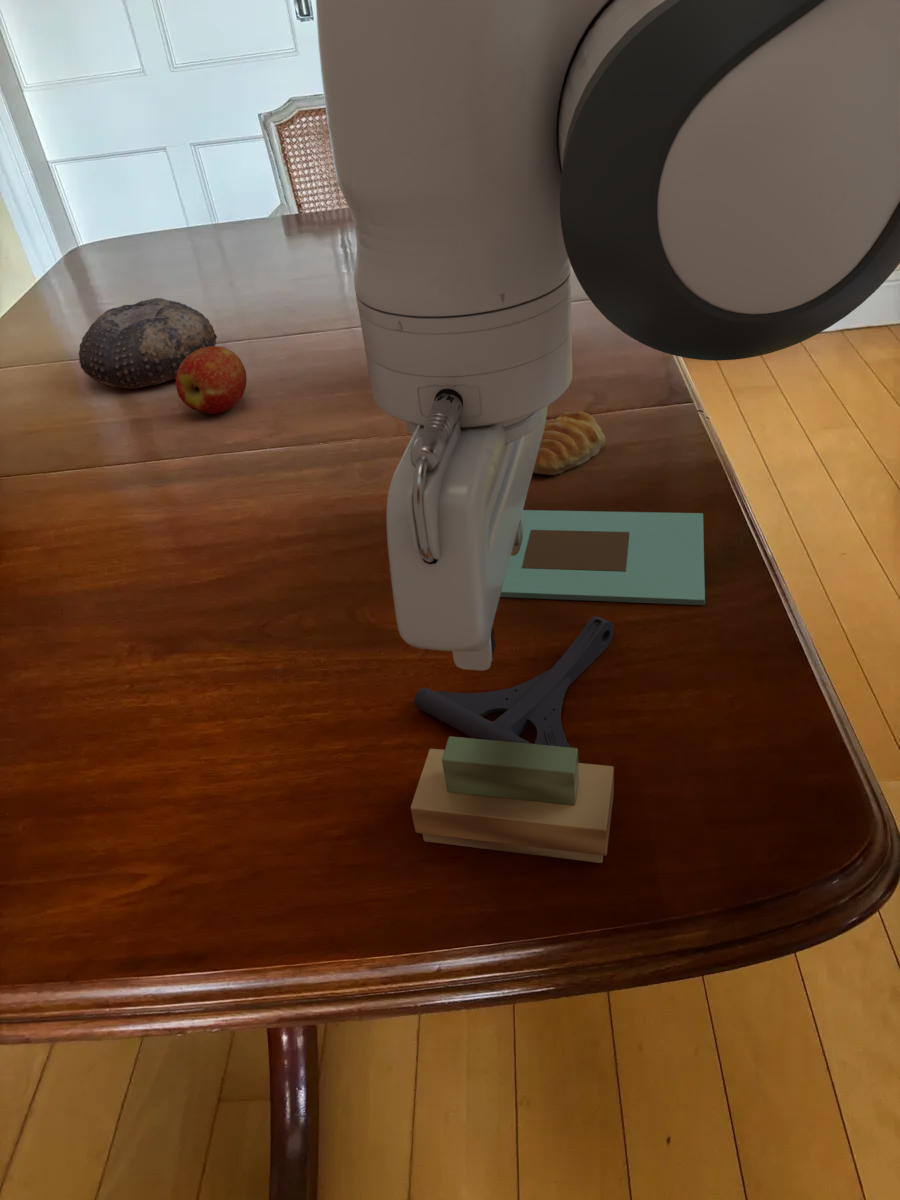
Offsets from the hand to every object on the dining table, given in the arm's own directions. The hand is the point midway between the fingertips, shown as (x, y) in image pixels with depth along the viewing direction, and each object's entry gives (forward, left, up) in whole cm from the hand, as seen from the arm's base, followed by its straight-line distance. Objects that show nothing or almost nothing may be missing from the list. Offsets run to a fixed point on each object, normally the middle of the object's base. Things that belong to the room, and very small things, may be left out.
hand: (492, 600), depth 47 cm
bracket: (-1, -12, -19) cm, 22 cm away
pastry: (+2, -48, -19) cm, 51 cm away
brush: (0, 0, -18) cm, 18 cm away
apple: (+47, -60, -19) cm, 78 cm away
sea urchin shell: (+63, -73, -19) cm, 98 cm away
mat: (-1, -30, -18) cm, 35 cm away
